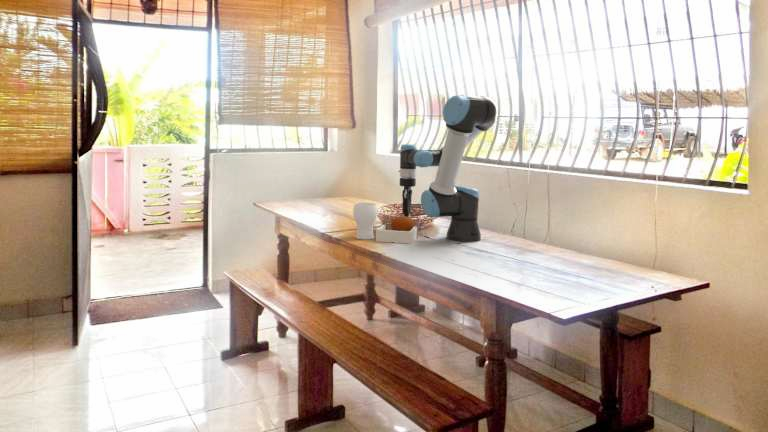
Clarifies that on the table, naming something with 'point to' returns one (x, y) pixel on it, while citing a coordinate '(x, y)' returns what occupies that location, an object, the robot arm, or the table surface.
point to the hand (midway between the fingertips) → (406, 227)
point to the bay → (396, 234)
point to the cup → (365, 219)
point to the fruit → (402, 223)
